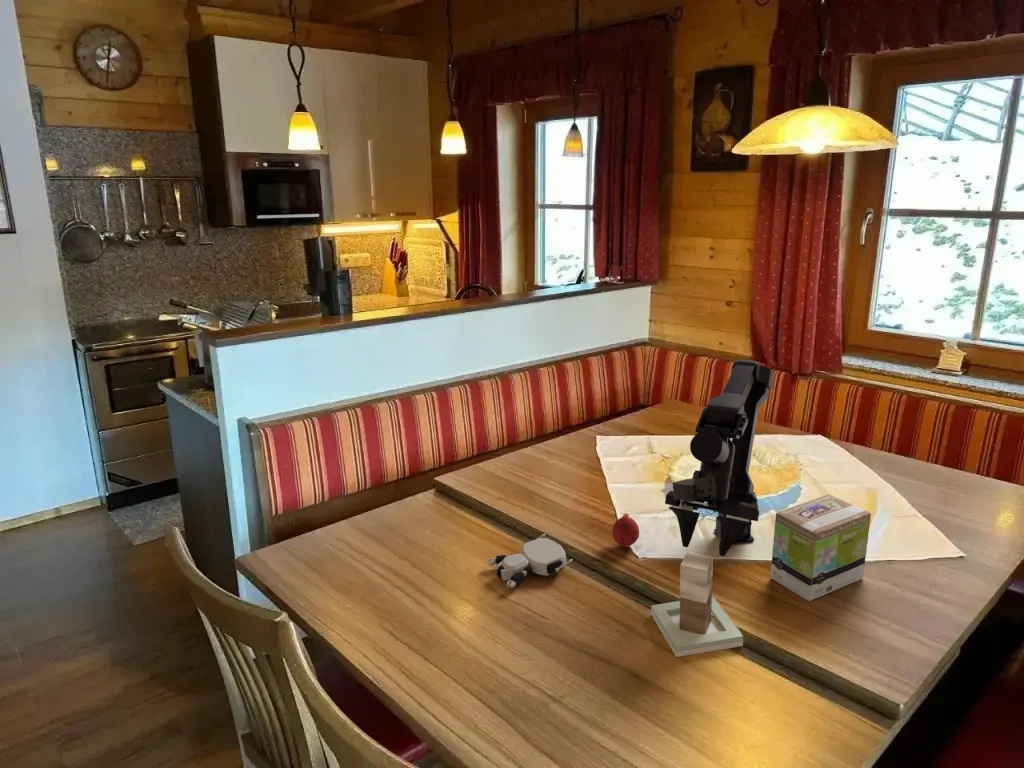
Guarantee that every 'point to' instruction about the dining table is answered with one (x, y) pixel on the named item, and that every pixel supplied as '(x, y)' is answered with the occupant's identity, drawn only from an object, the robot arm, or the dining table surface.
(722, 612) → the picture frame
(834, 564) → the tea box
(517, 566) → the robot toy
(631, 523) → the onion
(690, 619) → the block stack
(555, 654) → the dining table surface
